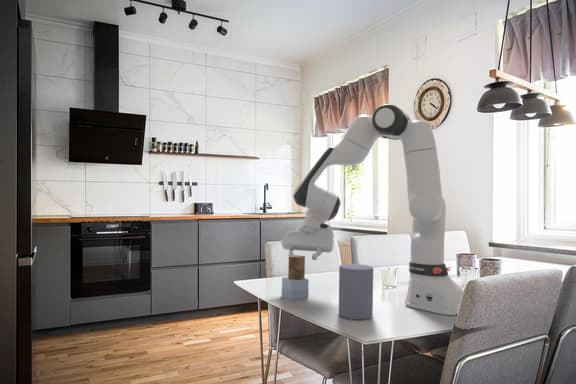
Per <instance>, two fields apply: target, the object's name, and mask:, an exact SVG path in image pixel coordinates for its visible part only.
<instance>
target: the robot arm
mask: <svg viewBox="0 0 576 384" xmlns="http://www.w3.org/2000/svg"><path fill="white" fill-rule="evenodd" d="M379 138H382V139H388V140H394V141H397V140H400V141H401V144H402V148H403V156H404V158H403V159H404V164H405V171H406V180H407V181H406V183H407V201H408V210H409V214H410V215H411V217H412V226H411V227H412V228H411V236H410V261H409V264H408V272H409V280H408V289H407V292H406V297H405V300H404V303H405V306H406V307H409V308H413V309H417V310H422V311H427V312H432V313H436V314H440V315H444V316H445V315H446V316H457V315H456V314H457V311H458V307H459V304H460V301H461V297H462V294H463V291H464V290H463V289H462V288H461V286H459V285H458V284H457V283H456V282H455V280H453V279H452V278H451V277H450V276H449V273H448V272H450V271H452V270H451V268H452V267H450V266H449V267H447V266H446V263H445V236H446V235H445V233H446V230H445V229H446V209H447V208H446V205H447V204H446V201H445V199H444V197H443V193H442V184H441V171H440V166H439V165H440V163H439V157H438V151H437V143H436V139H435V136H434V132H433V129H432V127H431V125H430V123H429V122H428V121H425V120H420V119H419V120H417V119H416V120H411V118H410V117H409V115H408V114H406V112H405V111H404V110H403V109H401V108H400V107H398V106H397V105H394V104H391V103H388V104H387V103H386V104H383V105H382V104H381V105H380V106H378V107H377V108H376V109H375V110H374V112H373V114H372V116H371V115H368V114H361V115H359V116H357V117H356V118H355V119H354V121H353V122H352V123H351V124H350V126H349V127H348V129H347V131H346V132H345V135H344V136H343V138H342V140H341V141H340V142H339V143H338V144H336V145H334V146H330V147H328V148H327V149H326V150H325V151H324V153H322V155H320V158H319V159H318V160H317V162H315V164H314V165H313V167H312V168H311V169H310V171H309V172H308V173H307V175H306V176H305V177H304V178H303V180H302V181H301V182H300V183H299V184H298V185H297V186H296V187H295V190H294V192H293V195H292V197H293V199H294V202H295V204H296V206H300V207H302V208H306V212H305V213H306V214H305V218H304V219H303V221H302V224H301V226H300V229H299V228H298V229H297V228H296V229H295V228H290V229H289V230H287V231H286V232H285V234H284V236H283V237H282V239H281V246H282V248H283V250H288V256H287V257H289V256H293V255H295V254H294V251H303V252H314V253H312V256H311V259H312V261H318V257H320V256H321V255H322V254H323V253H331V252H332V251H333V249H334V245H335V240H334V238H335V234H334V230H333V228H332V226H331V225H330V224H328V223H327V222H329V221H331V220H333V219H334V218H336V217H337V215H338V212H339V209H340V206H341V199H340V197H339V195H337V194H335V193H333V192H332V191H329V190H327V189H325V188H322V187H321V186H318V185H317V184H316V182H317V180H318V179H319V178H320V176H321V175H322V174H323V173H324V171H325V170H326V169H327V168H328V167H330V166H336V165H338V166H349V167H350V166H357V165H359V164H361V163H363V162H364V161H365V160H366V158H367V157H368V155H369V153H370V152H371V149H372V147H373V146H374V144H375V142H376V141H377V140H378V139H379Z"/></svg>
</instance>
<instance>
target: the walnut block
mask: <svg viewBox="0 0 576 384" xmlns="http://www.w3.org/2000/svg"><path fill="white" fill-rule="evenodd" d="M287 271H288V274H287V275H288V279H294V280H301V279H304V278H305V276H306V275H305V273H306V272H305V271H306V255H295V254H294V255H293V256H288V270H287ZM305 279H306V278H305Z"/></svg>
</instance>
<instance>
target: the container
mask: <svg viewBox="0 0 576 384" xmlns="http://www.w3.org/2000/svg"><path fill="white" fill-rule="evenodd" d="M338 267H339V268H338V270H339V271H338V273H339V274H338V316H340V317H341V318H343V319H345V318H346V319H345V320H350V319H352V320H354V321H365V320H364V319H366V320H369V319H371V318H373V309H374V307H373V305H374V302H373V301H374V267H373V266H371V265H367V264H357V263H356V264H355V263H347V264H345V263H344V264H340V265H338ZM352 320H351V321H352Z"/></svg>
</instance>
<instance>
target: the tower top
mask: <svg viewBox="0 0 576 384" xmlns="http://www.w3.org/2000/svg"><path fill="white" fill-rule="evenodd" d="M281 279H282V281H281V288H282V287H283V288H285V289H287V290H290V291H298V290H308V289H309V286H310V285H309V282H310V281H309V279H308V278H304V279H301V280H294V279H288V277H287V276H286V277H282V278H281Z"/></svg>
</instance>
